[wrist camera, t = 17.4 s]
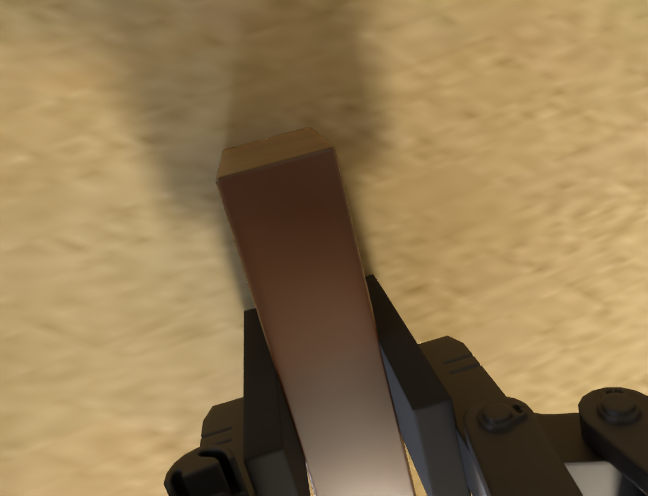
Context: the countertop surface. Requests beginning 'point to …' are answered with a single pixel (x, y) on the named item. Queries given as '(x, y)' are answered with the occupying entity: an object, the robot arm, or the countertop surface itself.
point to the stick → (315, 311)
